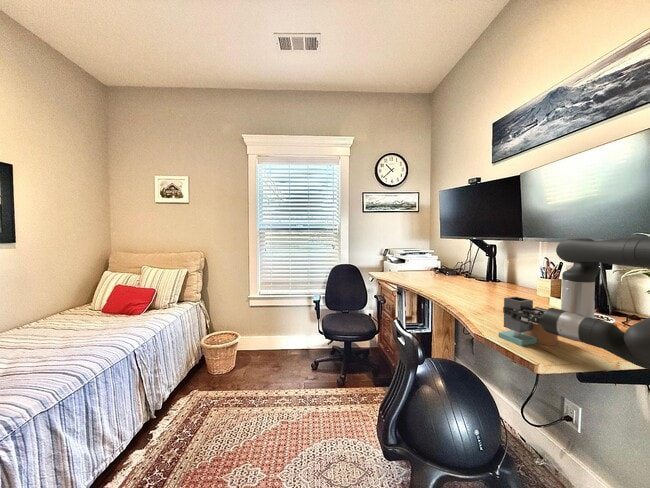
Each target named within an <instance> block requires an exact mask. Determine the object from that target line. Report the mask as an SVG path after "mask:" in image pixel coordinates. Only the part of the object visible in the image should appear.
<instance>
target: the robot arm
mask: <svg viewBox="0 0 650 488" xmlns="http://www.w3.org/2000/svg"><path fill="white" fill-rule="evenodd" d="M555 251H556V255H557V256H558V258H559V259H561V260H562V261H564V262H566V263H571V264H572V266H571V267H570V268H569V269H567V270H564V271H563V272H562V275H561V278H562V279H561V304H560V305H561V307H560V309H559V308H556V307H549V308H547V309H546V308H542V307H539V306H535V307H533V309H532V310H533V311H530V310H525V309H524V310H522V311H520V310H516V309H512V308H508V307H504V306H503V307H502V310H503V311H502V312H503V314H504V313H505V314H508V315H511V319H514V320H517V321H519V322H522V323H524V324H529V322H532V323H533V324H538V325H539V324H541V325H542V327H543V329H544V330H545V331H546V332H548V333H552V334H555V335H558V337H561V338H564V339H568V340H571V341H574V342H579V343H582V344H586V345H588V346H593V347H594V348H595V347H596V348H598V349H601V350H602V349H603V350H605V351H607V352H609V353H610V354H612V355H614V356H616V357H618V358H620V359H622V360H624V361H627V362H629V363H631V364H633V365H635V366H637V367H640V368H643V369H646V370H650V317H647V318H645V319H643V320H641V321H638V322H635V323H634V324H632V325H631V326H629V327H628V328H627V329H626V330H625V332H623V331H622V330H621V329H620V328H619V327H618V326H617V325H615V324H614V323H611V322H610V321H605V320H601V319H597V318H595V306H596V301H595V291H596V290H595V288H596V287H595V286H596V278H597V276H598V274H599V270H600V263H601V264H602V263H603V264H607V265H613V266H623V267H631V268H643V269H645V268H646V269H650V237H649V236H648V237H647V236H645V237H644V236H643V237H642V236H641V237H623V238H622V237H621V238H611V239H603V240H602V239H601V240H594V239H592V238H583V237H582V238H566V239H564V240H562V241H561V242H559V243H558V244H557V246H556V248H555ZM519 312H520V313H519ZM526 312H527V314H525V313H526Z"/></svg>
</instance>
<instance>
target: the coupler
mask: <svg viewBox="0 0 650 488" xmlns="http://www.w3.org/2000/svg"><path fill="white" fill-rule="evenodd" d="M533 306H534V300H532V299H530V298H523V297H520V296H511V297H510V296H509V297H504V298H503V307H508V308H512V309H516V310H520V311H522V310H524V309H525V310H530V311H533V310H532V309H533V308H534V307H533ZM519 313H520V312H519ZM525 314H527V312H526V313H525ZM503 328H506V329H508V330H510V329H511V330H514V331H517V332H526V331H531V330H532V322H529V324H524V323H522V322H519V321H517V320H514V319H511V315H508V314H505V313H503ZM511 330H510V331H511Z"/></svg>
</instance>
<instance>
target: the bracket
mask: <svg viewBox="0 0 650 488" xmlns="http://www.w3.org/2000/svg"><path fill="white" fill-rule="evenodd" d="M509 331H511V329H509ZM521 333H523V334H526V335H529V336H532V337H535V338H537V343H536V344H539V345H540V344H541V345H545V346H546V345H548V346H549V345H550V346H553V345H554V346H555V345H558V341H559V340H558V338H559V336H558V335H555V334H552V333H548V332H546V331H545V330H544V329H543V327H542V325H541V324H539V325H538V324H533V323H532V330H531V331H526V332H521Z"/></svg>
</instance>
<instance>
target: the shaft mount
mask: <svg viewBox="0 0 650 488" xmlns="http://www.w3.org/2000/svg"><path fill="white" fill-rule="evenodd" d="M498 338H501V339H504V340H506V341H508V342H511V343H513V344H515V345H518V346H520V347H523V346H528V345H533V344H538V343H537V338H535V337H532V336H529V335H526V334H523V333H521V332H517V331H514V330H506V331H501V332H498Z"/></svg>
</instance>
